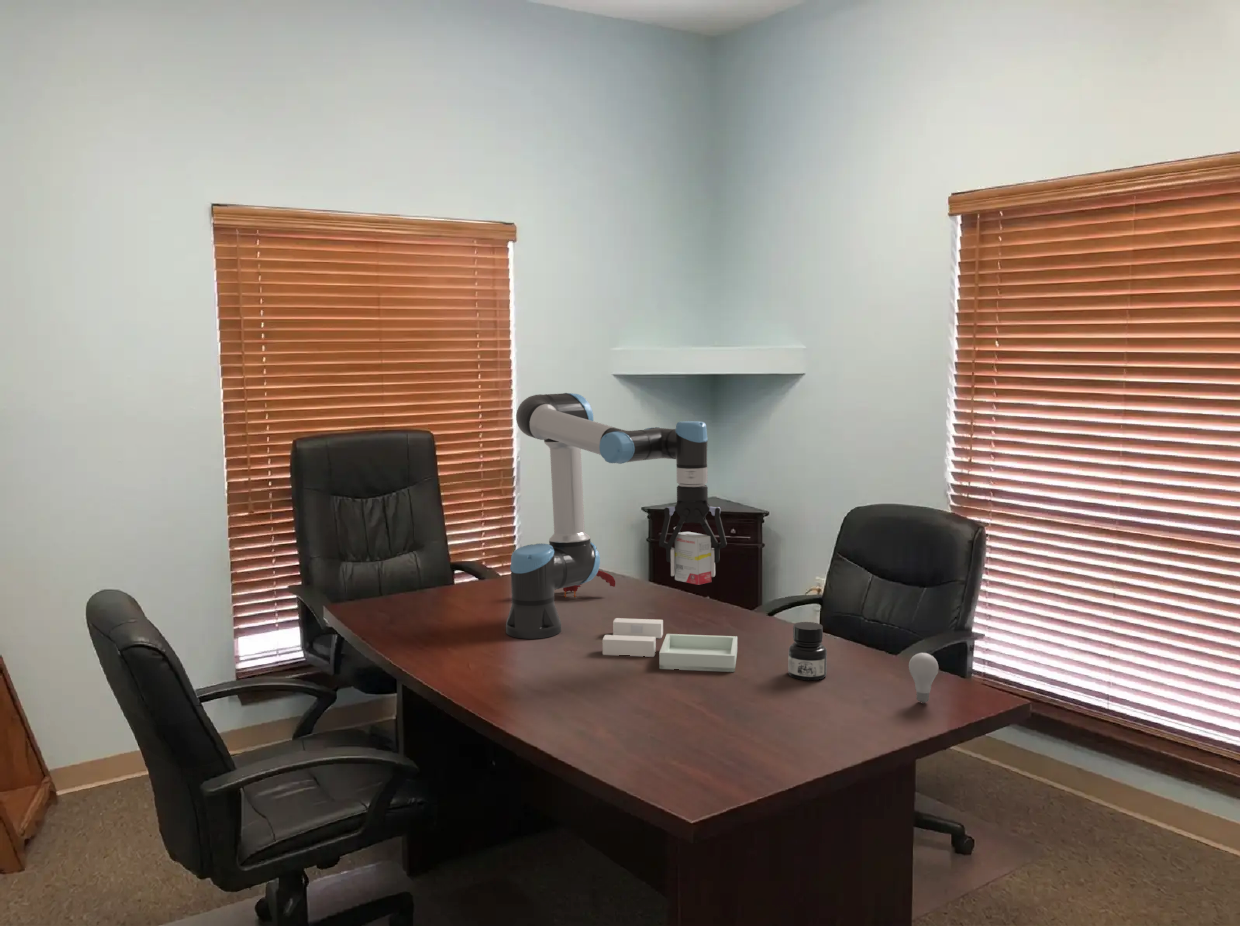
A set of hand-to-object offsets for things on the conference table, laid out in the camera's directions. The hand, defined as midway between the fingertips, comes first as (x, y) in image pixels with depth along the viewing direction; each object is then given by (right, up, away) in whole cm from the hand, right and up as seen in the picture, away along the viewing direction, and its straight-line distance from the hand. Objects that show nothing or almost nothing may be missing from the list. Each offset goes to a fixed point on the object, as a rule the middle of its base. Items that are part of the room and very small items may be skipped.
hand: (693, 575), depth 238 cm
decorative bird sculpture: (-34, -15, +65) cm, 75 cm away
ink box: (0, -2, 0) cm, 2 cm away
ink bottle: (+26, -23, -11) cm, 36 cm away
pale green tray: (+2, -21, +1) cm, 21 cm away
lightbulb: (+47, -24, -29) cm, 61 cm away
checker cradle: (-14, -20, +15) cm, 29 cm away
